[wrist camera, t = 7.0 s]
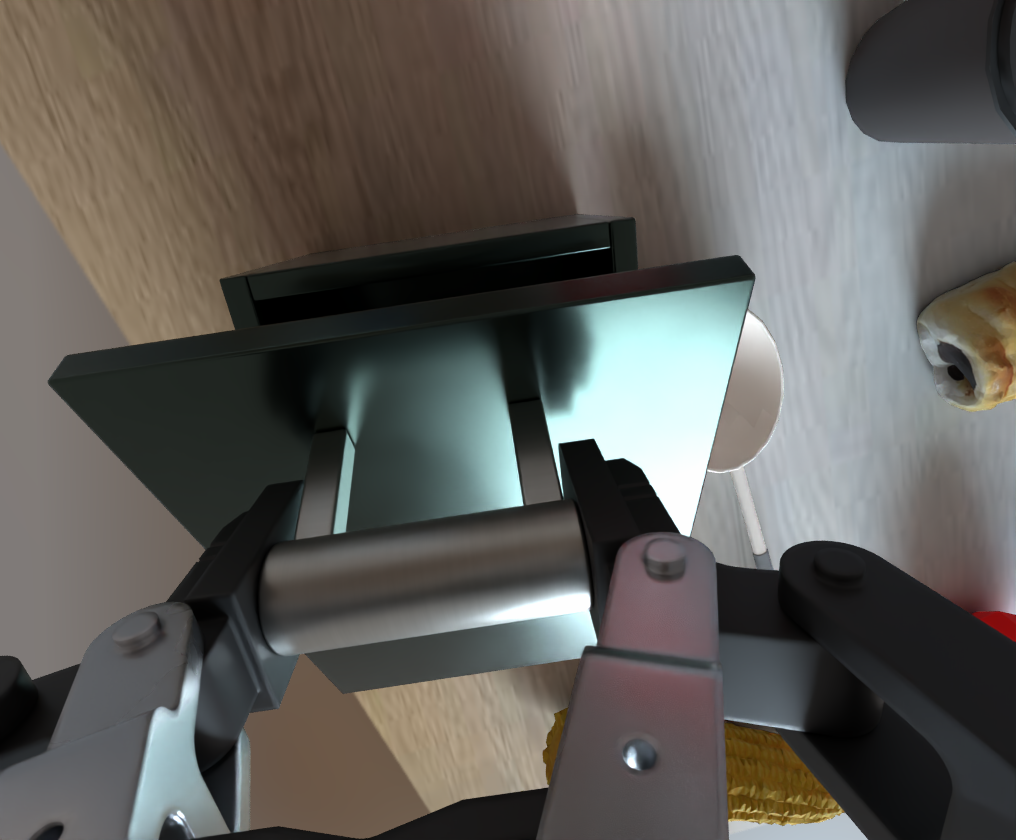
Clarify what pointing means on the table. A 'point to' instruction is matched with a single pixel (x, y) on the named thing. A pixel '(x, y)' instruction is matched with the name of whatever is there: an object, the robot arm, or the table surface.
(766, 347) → the ladle
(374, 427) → the bin lid
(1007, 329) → the pastry
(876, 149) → the table surface
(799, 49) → the table surface
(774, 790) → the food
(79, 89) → the table surface
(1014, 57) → the coffee cup
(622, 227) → the trash can
